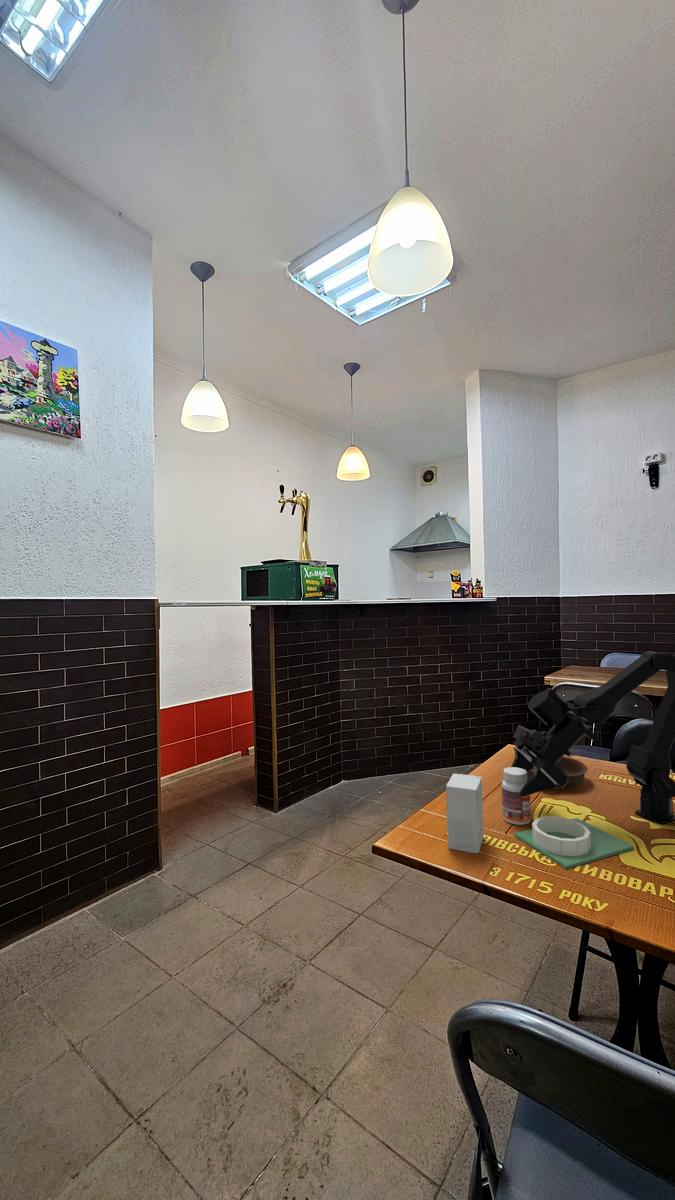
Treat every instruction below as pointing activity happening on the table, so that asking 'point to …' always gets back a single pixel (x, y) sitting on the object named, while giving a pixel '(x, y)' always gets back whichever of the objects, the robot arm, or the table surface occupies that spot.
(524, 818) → the pill bottle
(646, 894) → the table surface
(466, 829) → the small box
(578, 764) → the dish
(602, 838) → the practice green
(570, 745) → the robot arm
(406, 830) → the table surface
